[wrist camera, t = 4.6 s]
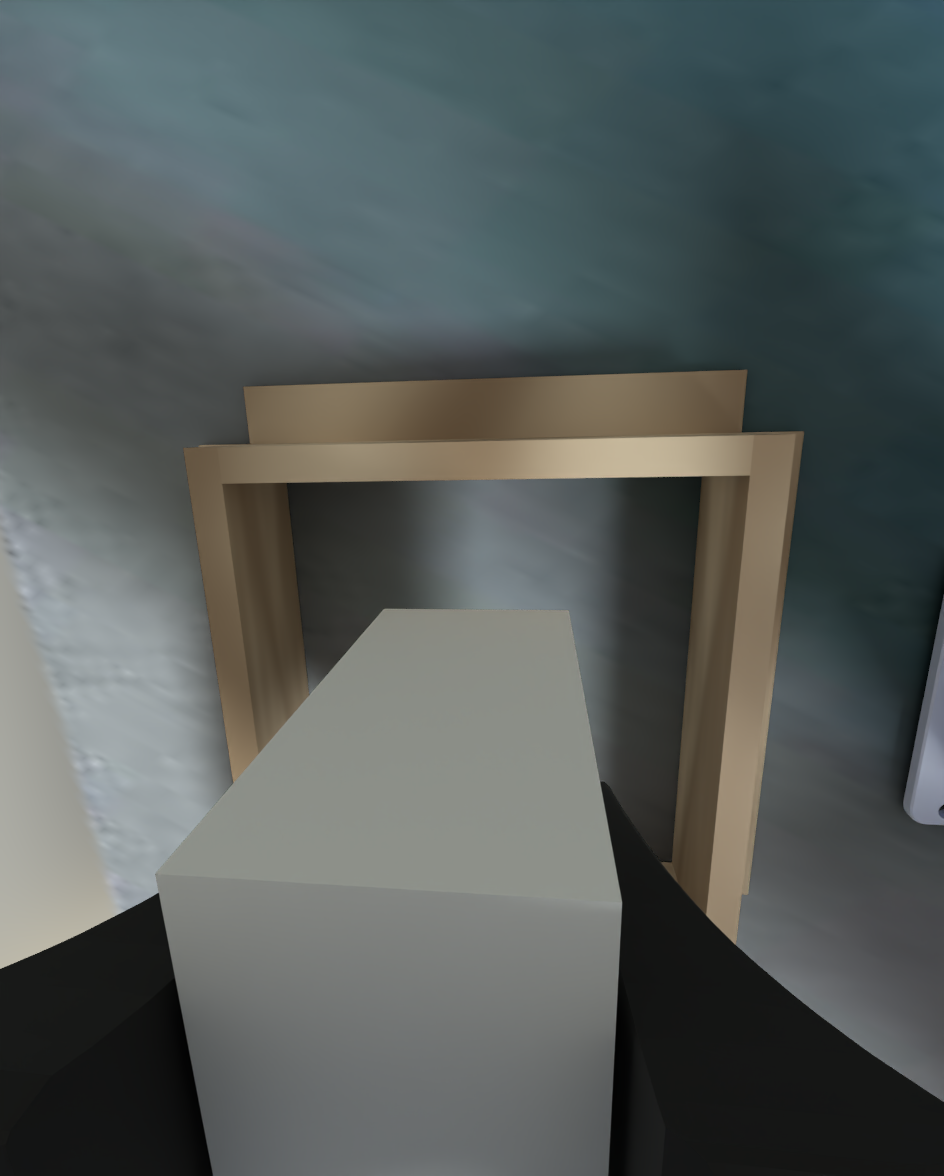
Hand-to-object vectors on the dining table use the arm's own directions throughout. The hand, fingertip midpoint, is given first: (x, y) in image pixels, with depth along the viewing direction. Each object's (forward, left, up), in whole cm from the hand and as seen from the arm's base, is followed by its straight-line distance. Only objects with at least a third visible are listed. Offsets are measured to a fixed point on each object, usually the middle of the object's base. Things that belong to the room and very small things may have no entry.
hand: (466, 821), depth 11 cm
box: (0, 0, -2) cm, 2 cm away
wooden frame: (0, 0, -7) cm, 7 cm away
